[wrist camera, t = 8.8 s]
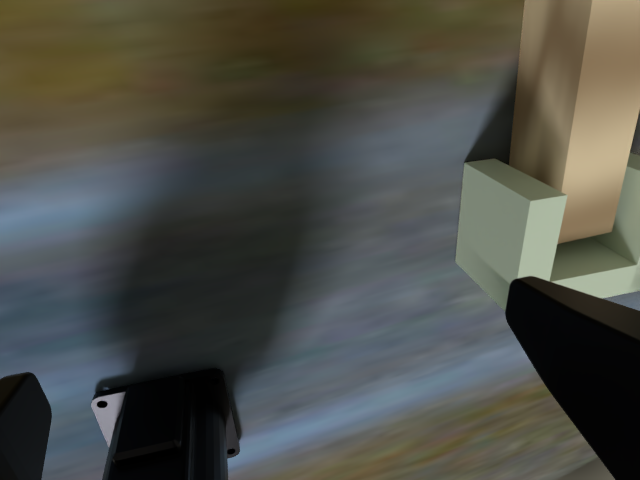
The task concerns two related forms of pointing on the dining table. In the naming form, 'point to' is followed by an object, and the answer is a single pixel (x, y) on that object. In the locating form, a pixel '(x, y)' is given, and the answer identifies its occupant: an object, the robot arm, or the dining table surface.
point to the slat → (578, 105)
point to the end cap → (542, 234)
